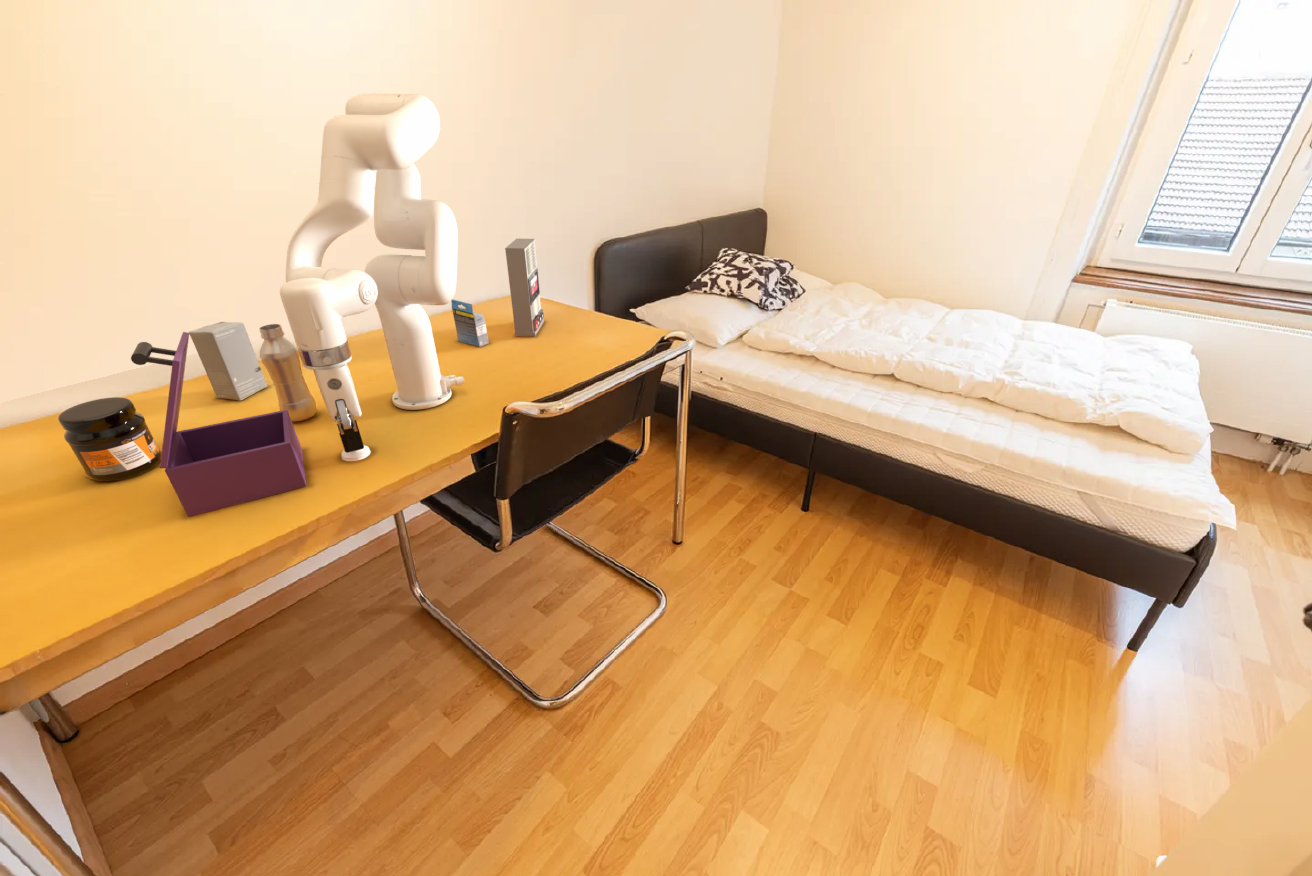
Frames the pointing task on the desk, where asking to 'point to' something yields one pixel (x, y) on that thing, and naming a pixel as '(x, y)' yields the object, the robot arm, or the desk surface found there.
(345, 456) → the chess piece
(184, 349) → the lid
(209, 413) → the desk surface
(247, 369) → the cosmetic box
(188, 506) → the box
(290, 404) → the plastic bottle
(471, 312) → the label tape box
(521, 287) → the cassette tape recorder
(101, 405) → the supplement container
